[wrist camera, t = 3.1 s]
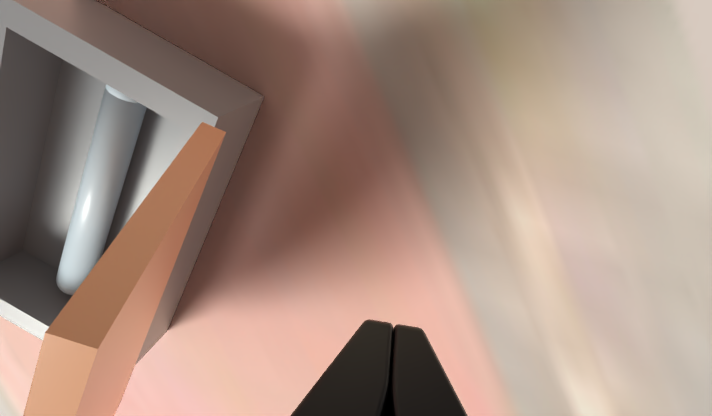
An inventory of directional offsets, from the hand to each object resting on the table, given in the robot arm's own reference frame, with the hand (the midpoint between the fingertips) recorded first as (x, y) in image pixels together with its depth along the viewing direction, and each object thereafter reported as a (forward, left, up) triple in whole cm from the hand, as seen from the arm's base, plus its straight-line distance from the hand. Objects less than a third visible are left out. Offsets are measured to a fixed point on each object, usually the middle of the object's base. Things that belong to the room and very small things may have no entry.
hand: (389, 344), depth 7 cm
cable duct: (-2, +15, -13) cm, 20 cm away
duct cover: (-5, +10, -4) cm, 12 cm away
